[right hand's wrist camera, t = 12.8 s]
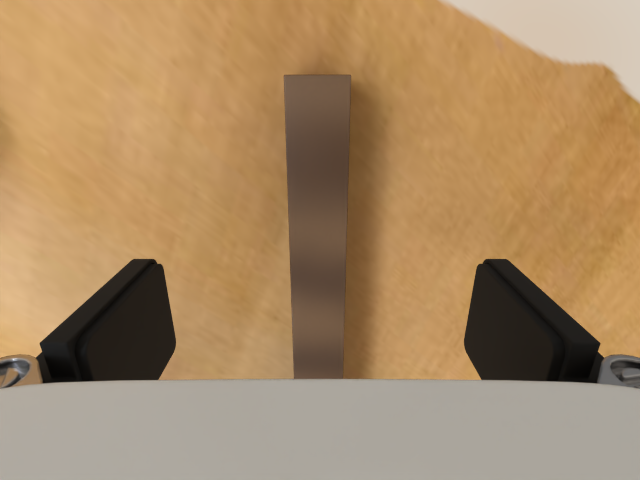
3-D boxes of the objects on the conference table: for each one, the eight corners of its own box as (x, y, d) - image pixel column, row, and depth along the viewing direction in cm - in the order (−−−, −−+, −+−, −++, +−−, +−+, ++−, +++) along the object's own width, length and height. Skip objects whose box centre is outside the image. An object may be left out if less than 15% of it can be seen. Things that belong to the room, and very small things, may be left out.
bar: (290, 78, 30) (283, 74, 24) (345, 77, 30) (351, 74, 24) (305, 625, 60) (304, 682, 55) (332, 625, 60) (334, 682, 55)
